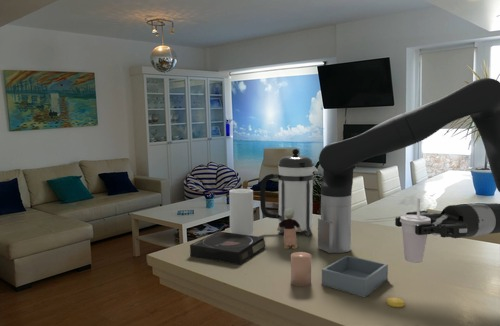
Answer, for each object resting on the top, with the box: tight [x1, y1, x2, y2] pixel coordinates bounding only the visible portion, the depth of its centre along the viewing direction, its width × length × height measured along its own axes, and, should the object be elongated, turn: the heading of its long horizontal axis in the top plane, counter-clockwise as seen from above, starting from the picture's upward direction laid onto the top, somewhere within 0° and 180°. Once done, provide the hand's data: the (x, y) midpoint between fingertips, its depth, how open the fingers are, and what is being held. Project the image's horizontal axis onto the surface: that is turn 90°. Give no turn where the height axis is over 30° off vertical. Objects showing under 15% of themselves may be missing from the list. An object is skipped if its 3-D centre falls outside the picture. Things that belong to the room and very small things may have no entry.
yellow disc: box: [386, 297, 405, 308], centre depth 91 cm, size 4×4×1 cm
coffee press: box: [259, 148, 319, 237], centre depth 148 cm, size 17×16×30 cm
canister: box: [290, 251, 312, 287], centre depth 103 cm, size 5×5×7 cm
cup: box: [228, 188, 254, 236], centre depth 145 cm, size 8×8×16 cm
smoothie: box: [399, 198, 431, 264], centre depth 92 cm, size 6×6×14 cm
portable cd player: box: [189, 231, 266, 266], centre depth 127 cm, size 16×17×4 cm
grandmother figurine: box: [276, 208, 303, 249], centre depth 131 cm, size 8×4×13 cm, turn 94°
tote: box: [321, 255, 389, 298], centre depth 103 cm, size 13×11×4 cm
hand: (406, 225), depth 92 cm, fingers closed on smoothie, 6 cm apart
